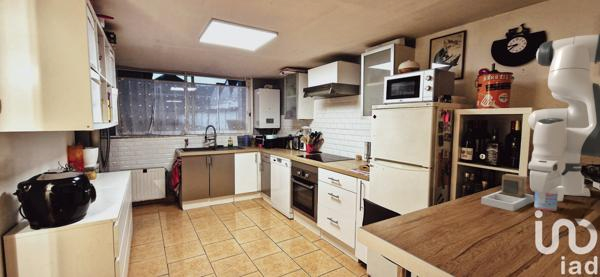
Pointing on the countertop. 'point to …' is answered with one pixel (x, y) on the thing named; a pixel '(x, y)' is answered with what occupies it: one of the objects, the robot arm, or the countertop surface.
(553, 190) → the pill bottle
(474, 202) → the countertop surface
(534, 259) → the countertop surface
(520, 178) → the brown wooden block
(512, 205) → the grey compartment tray
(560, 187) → the white ramekin
